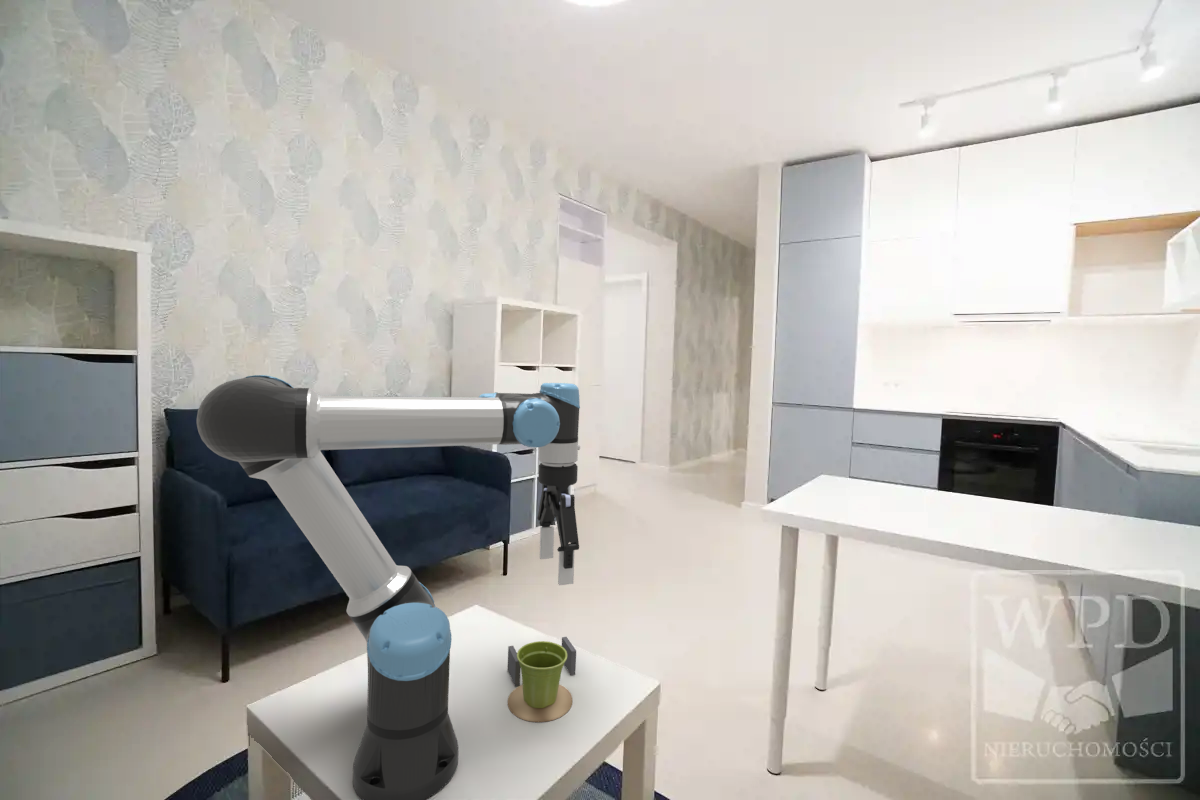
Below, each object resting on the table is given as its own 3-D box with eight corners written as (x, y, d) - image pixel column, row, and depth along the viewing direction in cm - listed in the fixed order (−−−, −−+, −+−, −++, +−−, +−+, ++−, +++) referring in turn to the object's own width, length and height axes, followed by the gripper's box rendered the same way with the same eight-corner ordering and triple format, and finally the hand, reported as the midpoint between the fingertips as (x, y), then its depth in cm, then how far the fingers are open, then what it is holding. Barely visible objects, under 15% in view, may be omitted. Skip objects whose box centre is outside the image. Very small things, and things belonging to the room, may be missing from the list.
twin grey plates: (514, 686, 104) (515, 661, 103) (507, 670, 109) (508, 646, 109) (575, 674, 109) (576, 650, 108) (565, 659, 114) (566, 636, 114)
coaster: (516, 728, 92) (517, 727, 92) (501, 689, 103) (501, 687, 103) (581, 713, 96) (581, 712, 96) (560, 677, 107) (560, 676, 107)
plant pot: (569, 686, 104) (570, 643, 103) (560, 717, 95) (562, 670, 94) (522, 681, 105) (523, 639, 104) (509, 712, 95) (511, 665, 95)
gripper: (599, 475, 93) (595, 593, 94) (558, 451, 116) (556, 547, 117) (557, 477, 90) (554, 599, 91) (524, 452, 113) (522, 550, 115)
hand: (555, 570), depth 104 cm, fingers open, 13 cm apart
